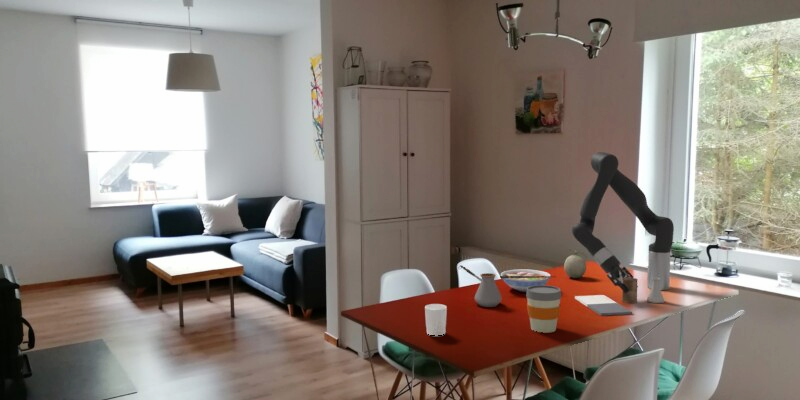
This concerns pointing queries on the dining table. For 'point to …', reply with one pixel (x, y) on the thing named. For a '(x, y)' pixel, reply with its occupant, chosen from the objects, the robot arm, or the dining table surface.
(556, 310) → the reusable coffee cup
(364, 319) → the dining table surface
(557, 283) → the dining table surface
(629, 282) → the block
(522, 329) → the dining table surface
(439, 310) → the white cup
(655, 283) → the flask
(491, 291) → the coffee pot
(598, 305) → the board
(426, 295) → the dining table surface
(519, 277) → the ramen bowl
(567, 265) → the fruit
